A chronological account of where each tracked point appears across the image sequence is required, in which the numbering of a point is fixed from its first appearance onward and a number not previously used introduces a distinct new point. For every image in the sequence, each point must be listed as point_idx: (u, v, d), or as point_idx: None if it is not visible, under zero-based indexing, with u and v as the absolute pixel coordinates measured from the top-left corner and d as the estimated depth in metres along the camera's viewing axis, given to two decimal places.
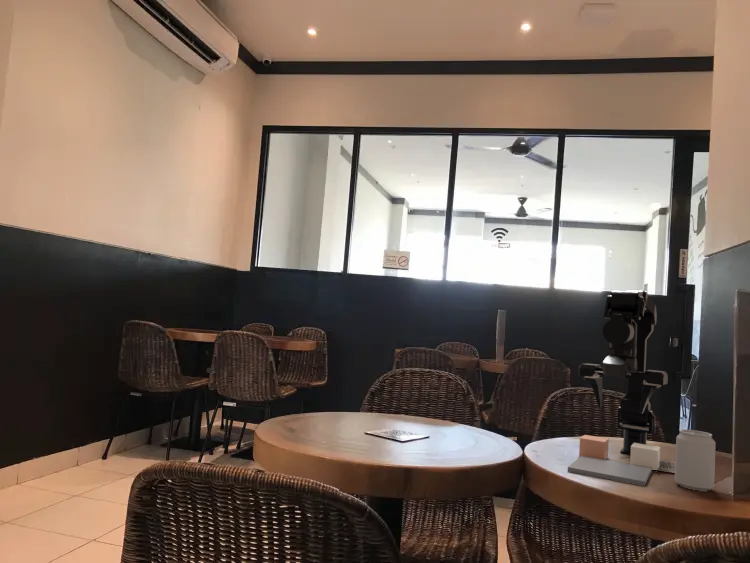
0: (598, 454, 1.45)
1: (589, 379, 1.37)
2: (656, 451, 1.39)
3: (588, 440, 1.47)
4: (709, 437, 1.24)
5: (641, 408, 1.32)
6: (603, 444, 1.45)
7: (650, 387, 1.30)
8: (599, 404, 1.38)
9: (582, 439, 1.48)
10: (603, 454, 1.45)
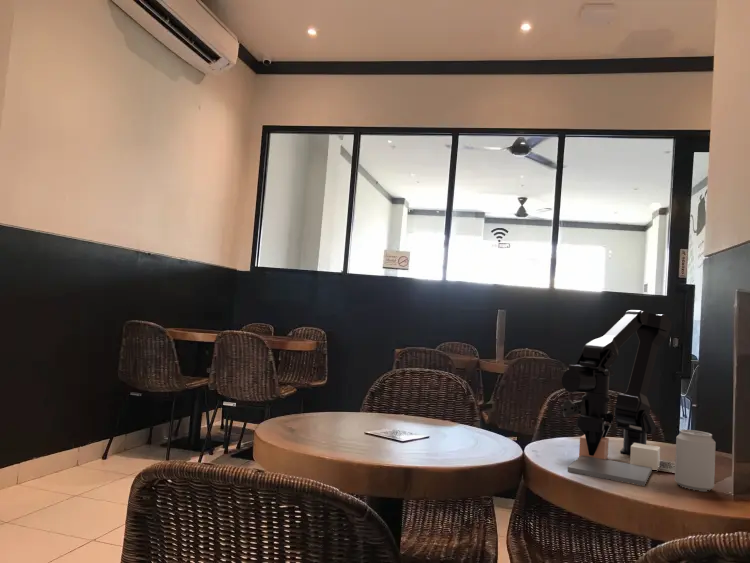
0: (598, 454, 1.45)
1: None
2: (656, 451, 1.39)
3: None
4: (709, 437, 1.24)
5: None
6: (603, 443, 1.45)
7: None
8: None
9: (582, 438, 1.48)
10: (603, 453, 1.45)
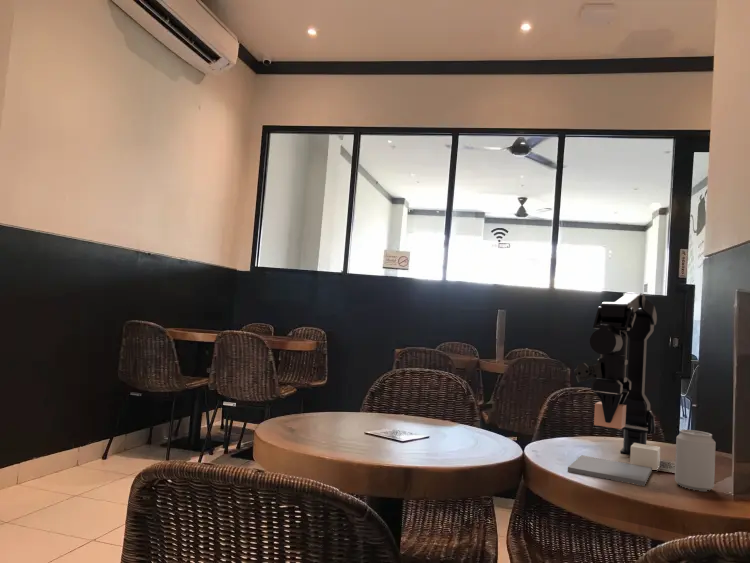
0: (615, 420, 1.33)
1: None
2: (656, 451, 1.39)
3: None
4: (709, 437, 1.24)
5: None
6: (620, 409, 1.33)
7: None
8: None
9: (597, 404, 1.35)
10: (620, 420, 1.32)
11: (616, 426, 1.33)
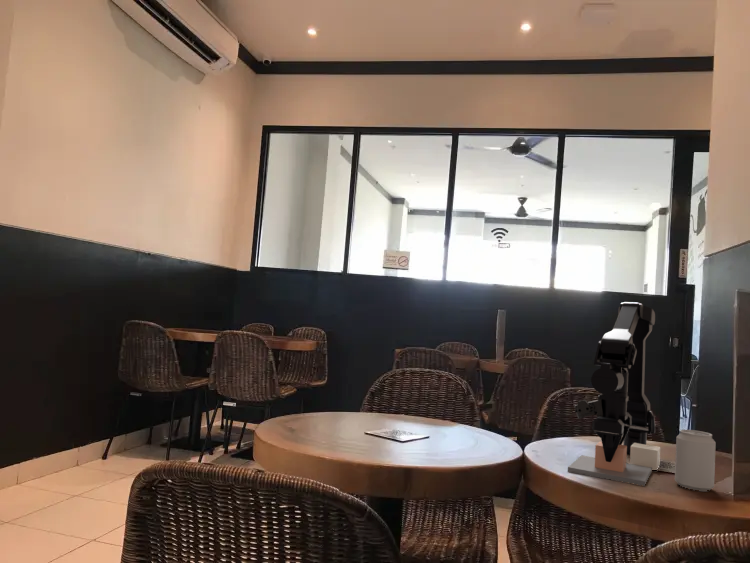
0: (616, 463, 1.31)
1: None
2: (656, 451, 1.39)
3: None
4: (709, 437, 1.24)
5: None
6: (622, 452, 1.31)
7: None
8: None
9: (598, 446, 1.34)
10: (622, 463, 1.31)
11: (617, 469, 1.31)
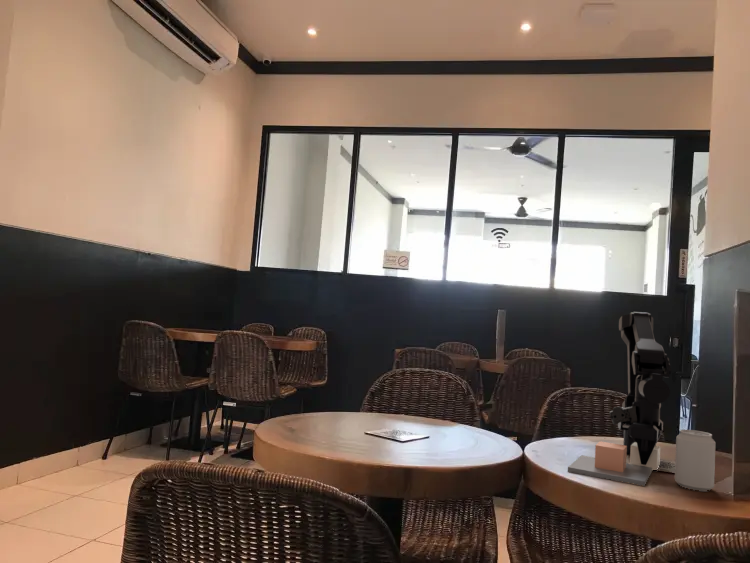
0: (616, 463, 1.31)
1: None
2: (656, 450, 1.39)
3: (605, 447, 1.33)
4: (709, 437, 1.24)
5: (640, 458, 1.40)
6: (622, 452, 1.31)
7: None
8: None
9: (598, 446, 1.34)
10: (622, 463, 1.31)
11: (617, 469, 1.31)
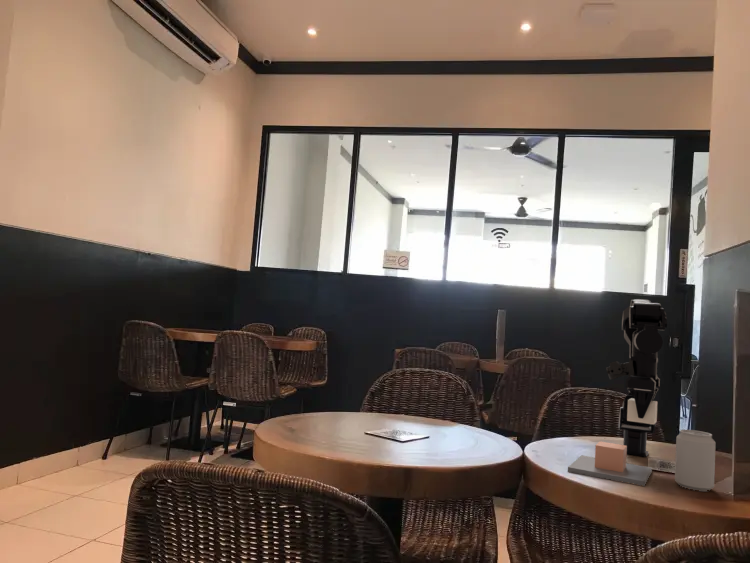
0: (616, 463, 1.31)
1: None
2: (653, 404, 1.38)
3: (605, 447, 1.33)
4: (709, 437, 1.24)
5: (637, 411, 1.39)
6: (622, 452, 1.31)
7: None
8: None
9: (598, 446, 1.34)
10: (622, 463, 1.31)
11: (617, 469, 1.31)
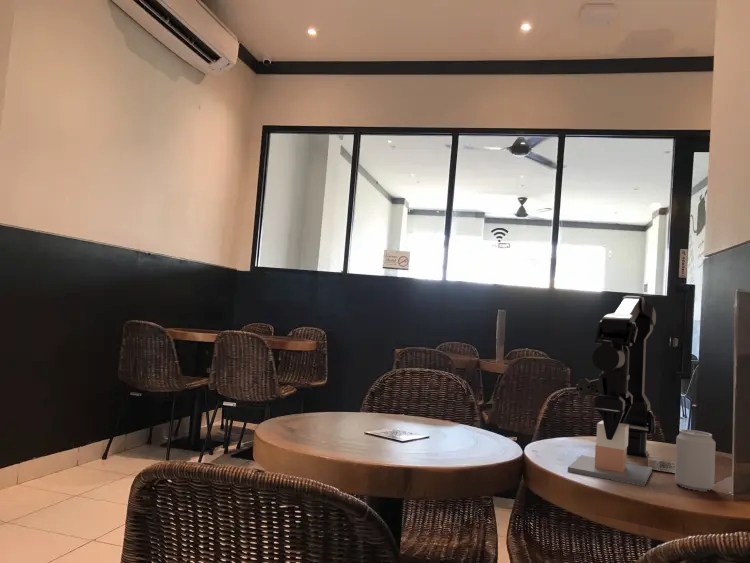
0: (616, 463, 1.31)
1: None
2: (623, 428, 1.31)
3: (605, 447, 1.33)
4: (709, 437, 1.24)
5: None
6: (622, 452, 1.31)
7: None
8: None
9: (598, 446, 1.34)
10: (622, 463, 1.31)
11: (617, 469, 1.31)
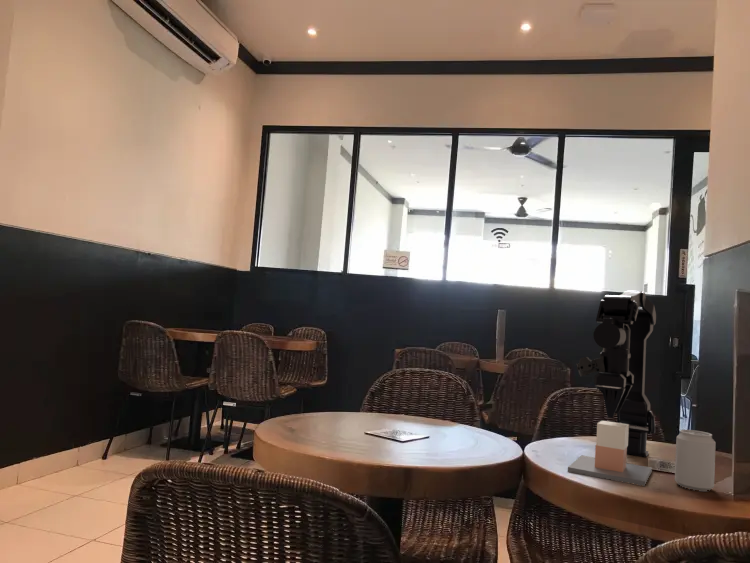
0: (616, 463, 1.31)
1: None
2: (623, 428, 1.31)
3: (605, 447, 1.33)
4: (709, 437, 1.24)
5: None
6: (622, 452, 1.31)
7: None
8: None
9: (598, 446, 1.34)
10: (622, 463, 1.31)
11: (617, 469, 1.31)
